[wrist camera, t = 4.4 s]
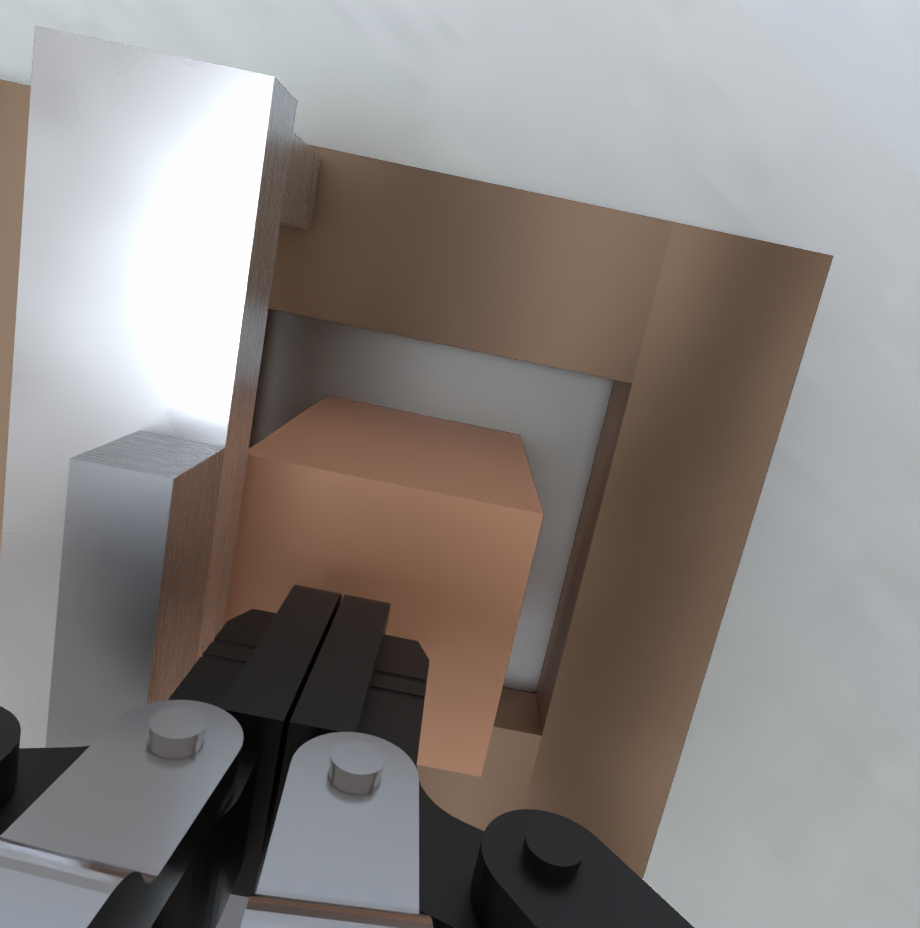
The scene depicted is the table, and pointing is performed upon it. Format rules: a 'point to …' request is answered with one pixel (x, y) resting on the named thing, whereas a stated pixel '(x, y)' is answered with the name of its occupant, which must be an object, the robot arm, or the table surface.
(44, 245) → the metal gate
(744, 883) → the table surface
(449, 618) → the terracotta block
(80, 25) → the table surface
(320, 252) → the puzzle board
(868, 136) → the table surface
